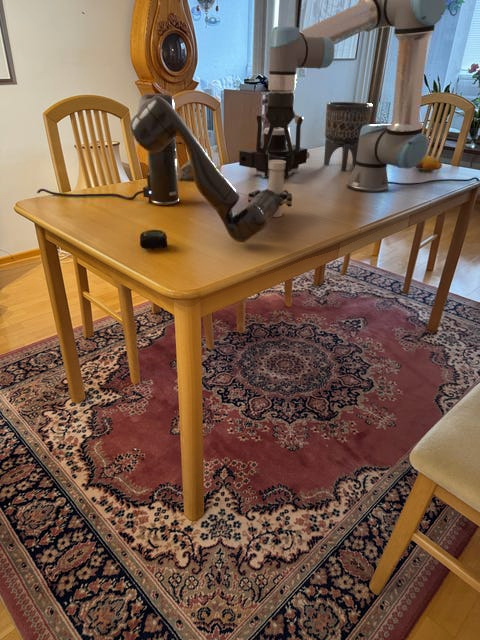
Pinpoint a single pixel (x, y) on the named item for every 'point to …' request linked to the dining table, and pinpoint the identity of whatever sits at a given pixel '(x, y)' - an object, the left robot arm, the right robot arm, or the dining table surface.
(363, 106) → the planter
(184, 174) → the rock
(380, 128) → the right robot arm
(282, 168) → the white cylinder with groove
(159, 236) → the tape measure
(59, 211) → the dining table surface
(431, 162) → the toy
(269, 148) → the mechanical component
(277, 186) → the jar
